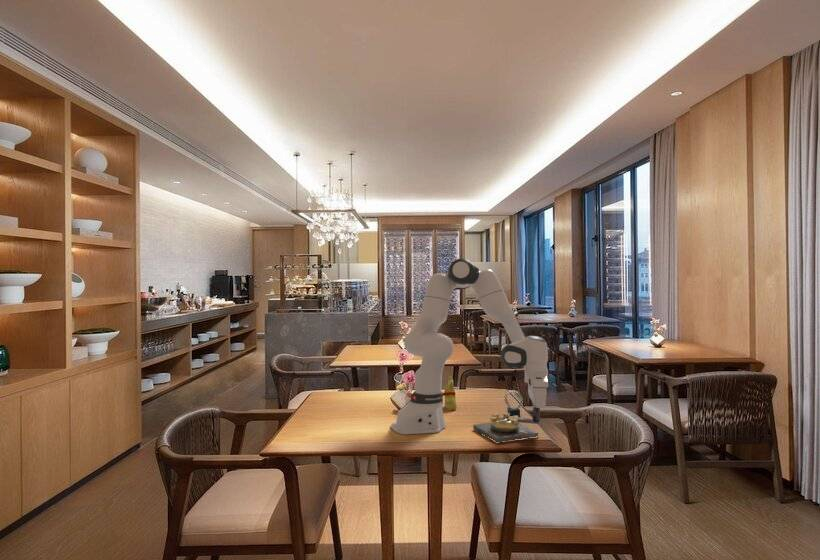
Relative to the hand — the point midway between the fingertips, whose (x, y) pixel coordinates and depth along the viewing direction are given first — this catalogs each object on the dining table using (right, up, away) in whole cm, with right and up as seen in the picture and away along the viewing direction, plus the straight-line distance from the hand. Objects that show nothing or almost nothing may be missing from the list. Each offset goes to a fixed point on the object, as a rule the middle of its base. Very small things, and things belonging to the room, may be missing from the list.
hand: (536, 413), depth 185 cm
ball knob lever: (-8, -6, 0) cm, 10 cm away
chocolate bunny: (-31, -9, +39) cm, 50 cm away
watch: (-3, -8, +26) cm, 28 cm away
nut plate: (-12, -8, +1) cm, 15 cm away
